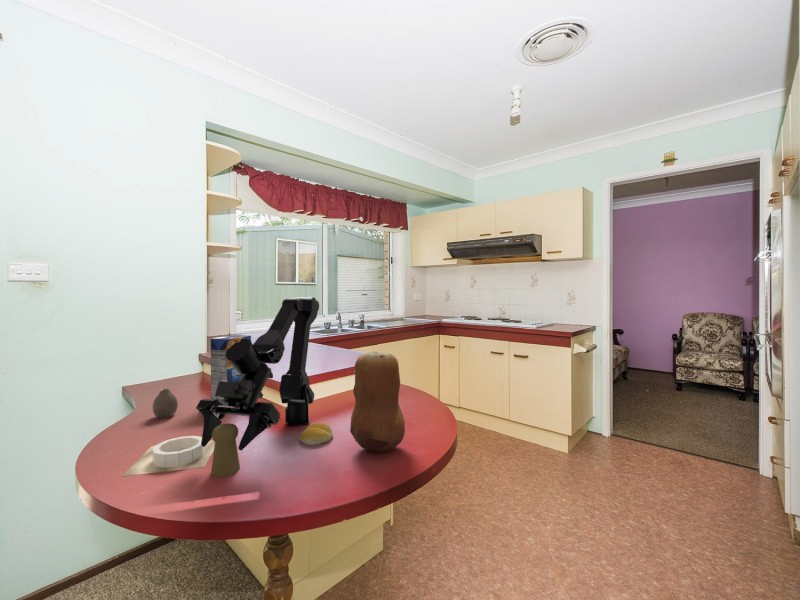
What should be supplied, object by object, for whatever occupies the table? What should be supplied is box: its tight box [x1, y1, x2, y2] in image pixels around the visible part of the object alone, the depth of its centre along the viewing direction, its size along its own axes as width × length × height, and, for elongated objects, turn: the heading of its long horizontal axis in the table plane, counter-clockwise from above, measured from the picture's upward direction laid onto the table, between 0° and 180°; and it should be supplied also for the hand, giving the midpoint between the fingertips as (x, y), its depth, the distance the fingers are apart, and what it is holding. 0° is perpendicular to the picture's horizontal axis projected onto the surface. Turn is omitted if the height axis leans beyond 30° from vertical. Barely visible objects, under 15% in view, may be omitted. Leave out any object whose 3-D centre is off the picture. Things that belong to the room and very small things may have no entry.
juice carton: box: [210, 334, 252, 406], centre depth 135 cm, size 12×8×24 cm, turn 161°
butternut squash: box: [349, 351, 406, 454], centre depth 93 cm, size 14×13×25 cm
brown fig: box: [152, 388, 179, 419], centre depth 119 cm, size 7×7×9 cm
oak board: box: [122, 439, 215, 477], centre depth 88 cm, size 16×16×1 cm
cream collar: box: [152, 435, 205, 468], centre depth 87 cm, size 10×10×3 cm
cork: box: [210, 423, 241, 478], centre depth 80 cm, size 6×6×11 cm
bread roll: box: [299, 422, 333, 446], centre depth 100 cm, size 8×9×4 cm
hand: (221, 447), depth 79 cm, fingers open, 9 cm apart
